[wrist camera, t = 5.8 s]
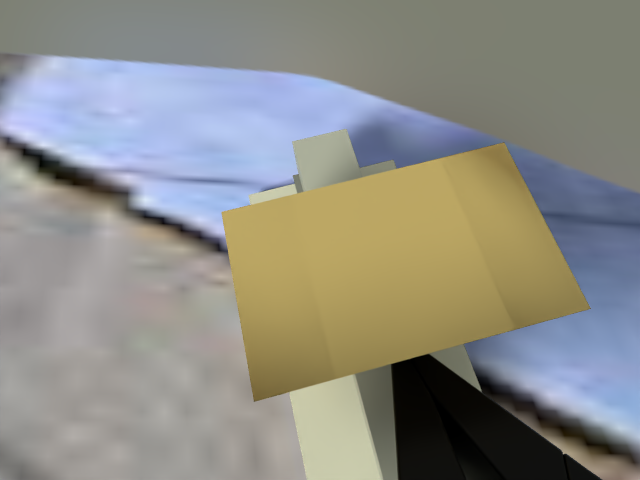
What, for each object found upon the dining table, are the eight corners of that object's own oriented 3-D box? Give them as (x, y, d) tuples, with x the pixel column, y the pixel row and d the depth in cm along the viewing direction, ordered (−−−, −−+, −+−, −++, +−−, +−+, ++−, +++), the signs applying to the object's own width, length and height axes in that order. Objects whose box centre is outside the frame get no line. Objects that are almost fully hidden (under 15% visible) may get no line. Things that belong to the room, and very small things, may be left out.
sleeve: (447, 330, 14) (590, 308, 6) (297, 371, 14) (253, 402, 6) (416, 246, 16) (504, 142, 8) (278, 282, 15) (221, 212, 7)
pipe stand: (604, 737, 11) (786, 996, 7) (379, 815, 11) (413, 1143, 6) (390, 167, 18) (409, 109, 14) (252, 201, 18) (226, 153, 14)
